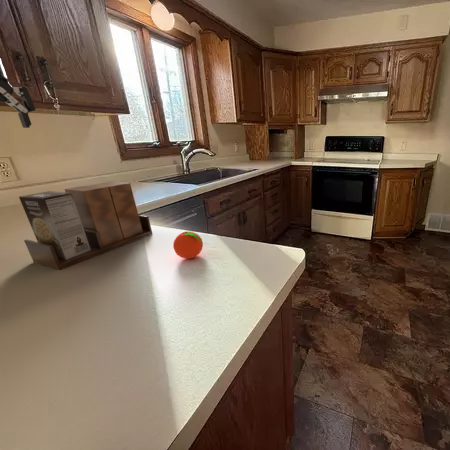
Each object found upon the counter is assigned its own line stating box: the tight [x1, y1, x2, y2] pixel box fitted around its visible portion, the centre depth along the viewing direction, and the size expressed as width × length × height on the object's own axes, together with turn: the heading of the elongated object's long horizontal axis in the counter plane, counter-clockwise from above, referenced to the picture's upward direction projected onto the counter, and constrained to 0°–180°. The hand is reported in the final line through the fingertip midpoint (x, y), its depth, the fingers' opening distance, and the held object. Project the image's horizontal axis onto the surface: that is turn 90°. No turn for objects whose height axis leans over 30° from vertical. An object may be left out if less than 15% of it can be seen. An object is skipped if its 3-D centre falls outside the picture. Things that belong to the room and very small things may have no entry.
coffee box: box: [18, 190, 91, 260], centre depth 63 cm, size 9×6×16 cm
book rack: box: [23, 181, 153, 271], centre depth 69 cm, size 25×12×17 cm, turn 157°
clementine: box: [172, 230, 204, 259], centre depth 62 cm, size 8×7×7 cm
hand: (4, 127), depth 65 cm, fingers open, 8 cm apart
